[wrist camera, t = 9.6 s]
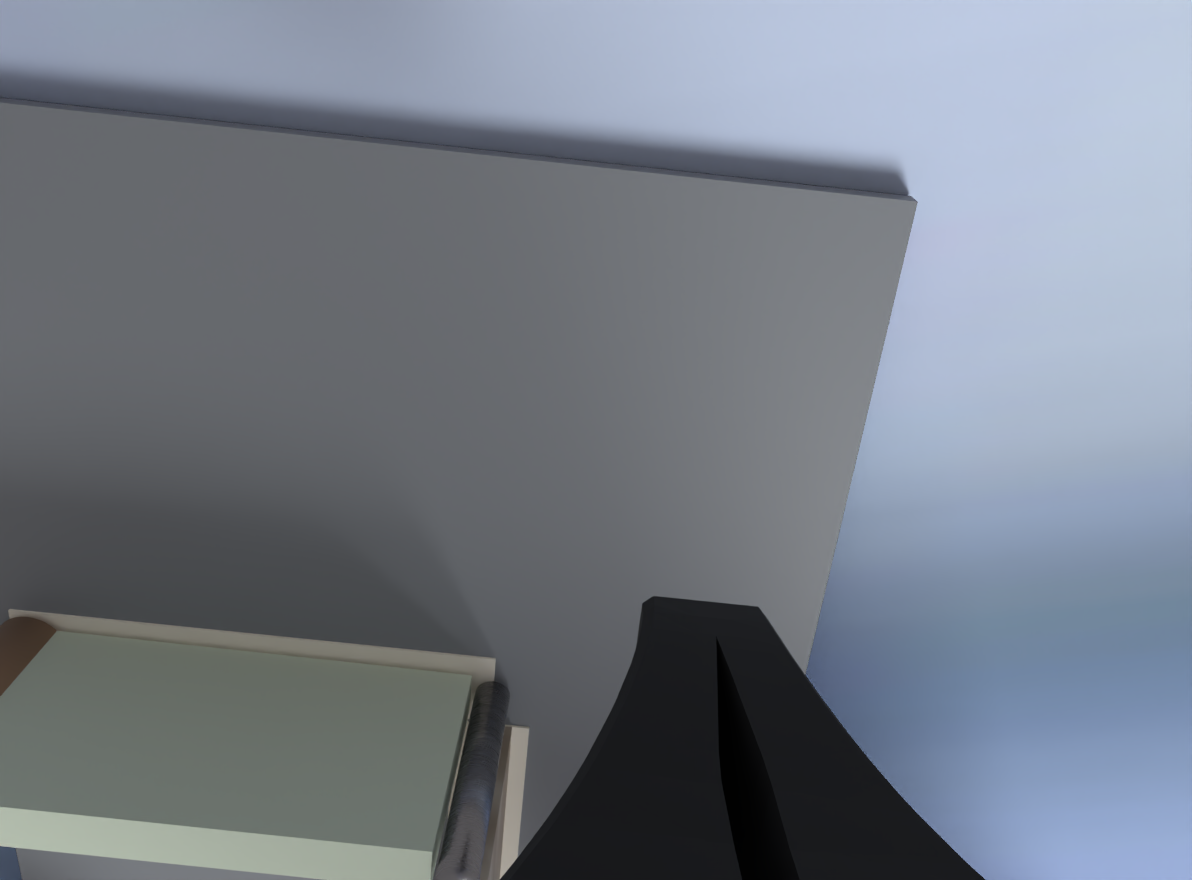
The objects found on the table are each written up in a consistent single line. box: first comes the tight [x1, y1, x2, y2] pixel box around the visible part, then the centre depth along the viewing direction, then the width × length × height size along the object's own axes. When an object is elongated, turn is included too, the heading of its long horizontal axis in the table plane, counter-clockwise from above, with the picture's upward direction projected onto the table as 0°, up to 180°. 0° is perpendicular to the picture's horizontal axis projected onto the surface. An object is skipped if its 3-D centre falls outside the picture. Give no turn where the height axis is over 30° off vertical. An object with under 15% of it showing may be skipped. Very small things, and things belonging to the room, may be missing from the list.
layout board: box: [0, 98, 917, 880], centre depth 23 cm, size 19×22×1 cm
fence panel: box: [0, 617, 510, 880], centre depth 20 cm, size 12×2×5 cm, turn 84°
